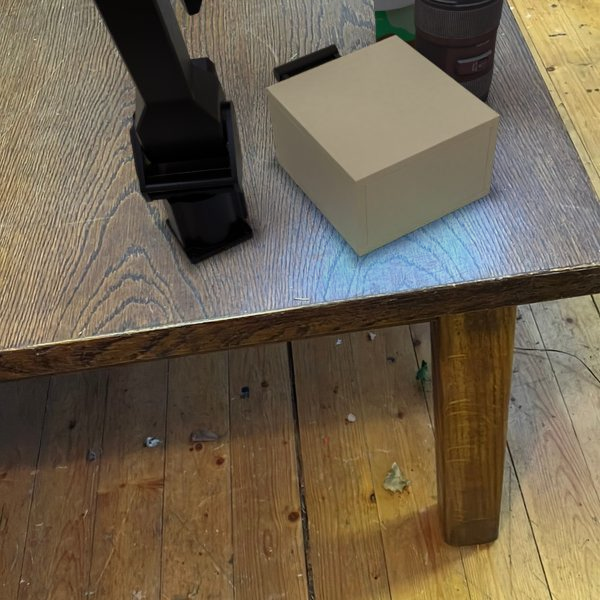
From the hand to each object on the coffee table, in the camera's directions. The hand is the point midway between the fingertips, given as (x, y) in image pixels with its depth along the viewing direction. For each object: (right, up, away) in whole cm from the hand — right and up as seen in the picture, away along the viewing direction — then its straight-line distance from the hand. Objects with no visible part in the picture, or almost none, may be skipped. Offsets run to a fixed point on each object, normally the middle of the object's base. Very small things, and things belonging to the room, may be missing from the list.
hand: (193, 13), depth 71 cm
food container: (+23, +1, +14) cm, 27 cm away
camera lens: (+26, -8, +6) cm, 28 cm away
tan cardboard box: (+18, -16, 0) cm, 24 cm away
